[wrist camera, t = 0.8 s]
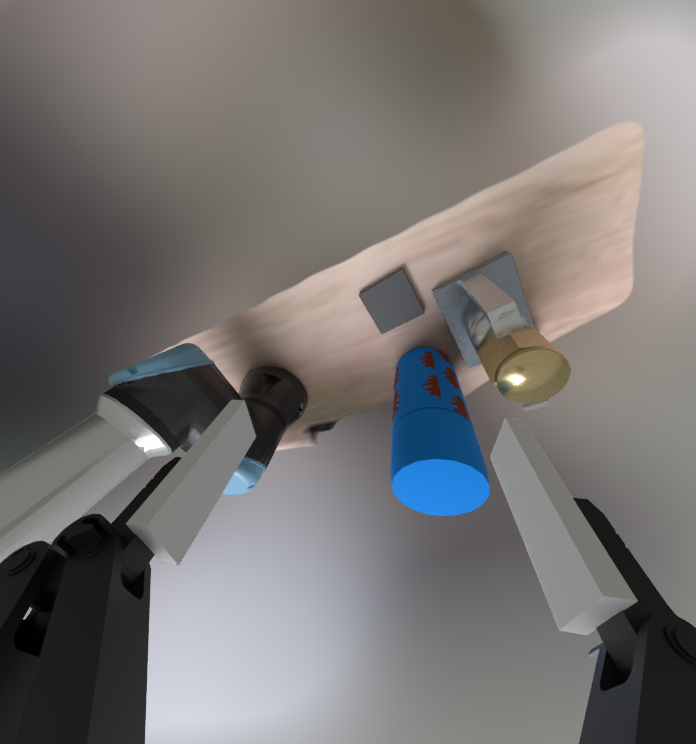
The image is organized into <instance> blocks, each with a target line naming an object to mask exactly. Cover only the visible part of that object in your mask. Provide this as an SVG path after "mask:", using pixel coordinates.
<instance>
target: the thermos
mask: <svg viewBox="0 0 696 744" xmlns="http://www.w3.org/2000/svg"><path fill="white" fill-rule="evenodd" d="M390 473H391V483H392V487H393V491H394V494H395V496H396V497H397V498H398V499H399V500H400V501H401V503H403V504H405V505H406V506H408V507H410V508H411V509H413V510H417V511H419V512H422V513H426V514H431V515H440V516H446V515H447V516H448V515H459V514H462V513H466V512H470V511H472V510H474V509H476V508H477V507H479V506H481V505H482V504H483V503H484V502H485V500H486V499H487V498H488V496H489V480H488V473H487V470H486V466H485V463H484V460H483V457H482V453H481V450H480V447H479V444H478V441H477V438H476V435H475V432H474V429H473V425H472V422H471V419H470V416H469V413H468V410H467V407H466V404H465V401H464V397H463V394H462V391H461V388H460V385H459V382H458V379H457V376H456V373H455V371H454V369H453V366H452V364H451V362H450V360H449V359H448V357H447V356H446V355H445V354H443V353H442V352H441V351H439V350H436V349H433V348H417V349H414V350H411V351H409V352H408V353H406V354H405V355H403V356H402V358H401V359H400V361H399V362H398V364H397V368H396V374H395V381H394V401H393V425H392V447H391V470H390Z"/></svg>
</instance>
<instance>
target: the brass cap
mask: <svg viewBox="0 0 696 744" xmlns="http://www.w3.org/2000/svg"><path fill="white" fill-rule="evenodd" d="M523 327H524V328H523V329H521V330H518V331H516V332H513V333H511V334H508V335H506V336H503V337H501V338H498V339H497V338H496V337H495V335H494V334H493V331H492V329H491V326H490V328H489V329H488V331H487V333H486V334H485V336H484V338H483V340H482V341H481V343H480V345H479V347H478V348H477V350H476V353H477V355H478V357H479V359H480V361H481V363H482V365H483V367H484V369H485V371H486V373H487V375H488V377H489V379H490V381H491V383H492V384H493V385H494V386H497V387H498V389H499V391H500V392H501V394H502V395H503V396H504V397H506V398H507V399H509V400H511V401H514V402H518V403H533V402H538V401H542V400H545V399H547V398H550V397H551V396H553V395H555V394H556V393H558V392H559V391H560V390H561V389H562V388H563V387H564V386H565V385H566V383H567V382H568V380H569V377H570V371H571V369H570V365H569V363H568V359H567V358H566V357H565V356H564V355H563V354H562V353H560V352H559V351H558V350H557V349H556V348H555V347H554V346H553V345H552V344H551V343H550V342H549V341H547V340H546V339H545V338H544V337H543V336H542V335H541V334H540V333H539V332H538V331H537V330H536V329H534V328H531V327H528V326H524V325H523Z"/></svg>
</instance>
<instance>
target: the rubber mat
mask: <svg viewBox="0 0 696 744" xmlns="http://www.w3.org/2000/svg"><path fill="white" fill-rule="evenodd" d="M359 297H360V298H361V300H362V302H363V303H364V305H365V307H366V308H367V310H368V312H369V313H370V315H371V317H372V318H373V320H374V322H375V324H376V325H377V327H378V329H379V330H380V332H381V334H383V333H385V332H387V331H389V330H391V329H393V328H395V327H398V326H400V325H402V324H404V323H406V322H408V321H410V320H412V319H414V318H416V317H418V316H420V315H422V314H424V310H423V308H422V306H421V304H420V302H419V300H418V298H417V296H416V294H415V292H414V290H413V288H412V286H411V284H410V282H409V280H408V278H407V276H406V274H405V272H404V270H403V268H402V269H400V270H398V271H397V272H395V273H393V274H392V275H390V276H388V277H387V278H385V279H383V280H382V281H380V282H378V283H377V284H375V285H373V286H372V287H370V288H368V289H367V290H365V291H363V292H361V293H360V294H359Z"/></svg>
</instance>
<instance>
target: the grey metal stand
mask: <svg viewBox="0 0 696 744" xmlns="http://www.w3.org/2000/svg"><path fill="white" fill-rule="evenodd" d="M432 291H433V294H434V296H435V298H436V301H437V303H438V305H439V307H440V309H441V311H442V313H443V316H444V318H445V320H446V322H447V324H448V326H449V328H450V331H451V333H452V335H453V337H454V339H455V341H456V343H457V346H458V348H459V350H460V352H461V354H462V356H463V358H464V361H465V363H466V365H467V367H468V368H471V367H474V366H476V365H479V364H482V363H481V361H480V359H479V357H478V355H477V353H476V350H477V348H478V347H479V345H480V343H481V341H482V340H483V338H484V336H485V334H486V333H487V331H488V329H489V328H490V326H491V329H492V331H493V334H494V335H495V337H496V338H497V339H498V338H501V337H503V336H506V335H508V334H511V333H513V332H516V331H518V330H521V329H523V328H524V327H523V325H524V326H528V327H531V328H534V325H533V321H532V318H531V315H530V312H529V309H528V305H527V302H526V299H525V296H524V293H523V289H522V286H521V283H520V280H519V277H518V273H517V270H516V267H515V264H514V261H513V258H512V254H511V253H510V252H507V251H505V252H503V253H501V254H500V255H498V256H496V257H494V258H492V259H490V260H488V261H486V262H484V263H482V264H481V265H479V266H477V267H475V268H473V269H471V270H469V271H467V272H465V273H463V274H462V275H460V276H458V277H456V278H454V279H452V280H450V281H448V282H446V283H445V284H443V285H441V286H439V287H437V288H435V289H433V290H432ZM534 329H535V328H534ZM520 404H521V405H522V407H523V409H524V410H525V412H526V411H529V410H533V409H536V408H540V407H544V406H548V405H549V403H548V400H547V399H545V400H542V401H538V402H533V403H520Z"/></svg>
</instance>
